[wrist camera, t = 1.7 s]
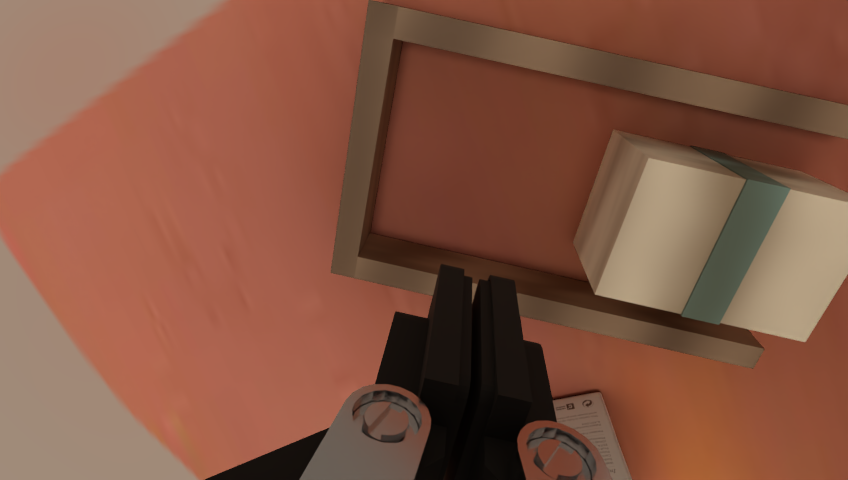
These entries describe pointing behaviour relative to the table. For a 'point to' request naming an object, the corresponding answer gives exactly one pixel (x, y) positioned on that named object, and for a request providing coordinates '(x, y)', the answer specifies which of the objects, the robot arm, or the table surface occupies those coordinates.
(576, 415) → the skincare box
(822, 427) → the table surface
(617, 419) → the table surface
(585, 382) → the table surface
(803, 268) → the parcel
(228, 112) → the table surface
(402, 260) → the shelf bay
